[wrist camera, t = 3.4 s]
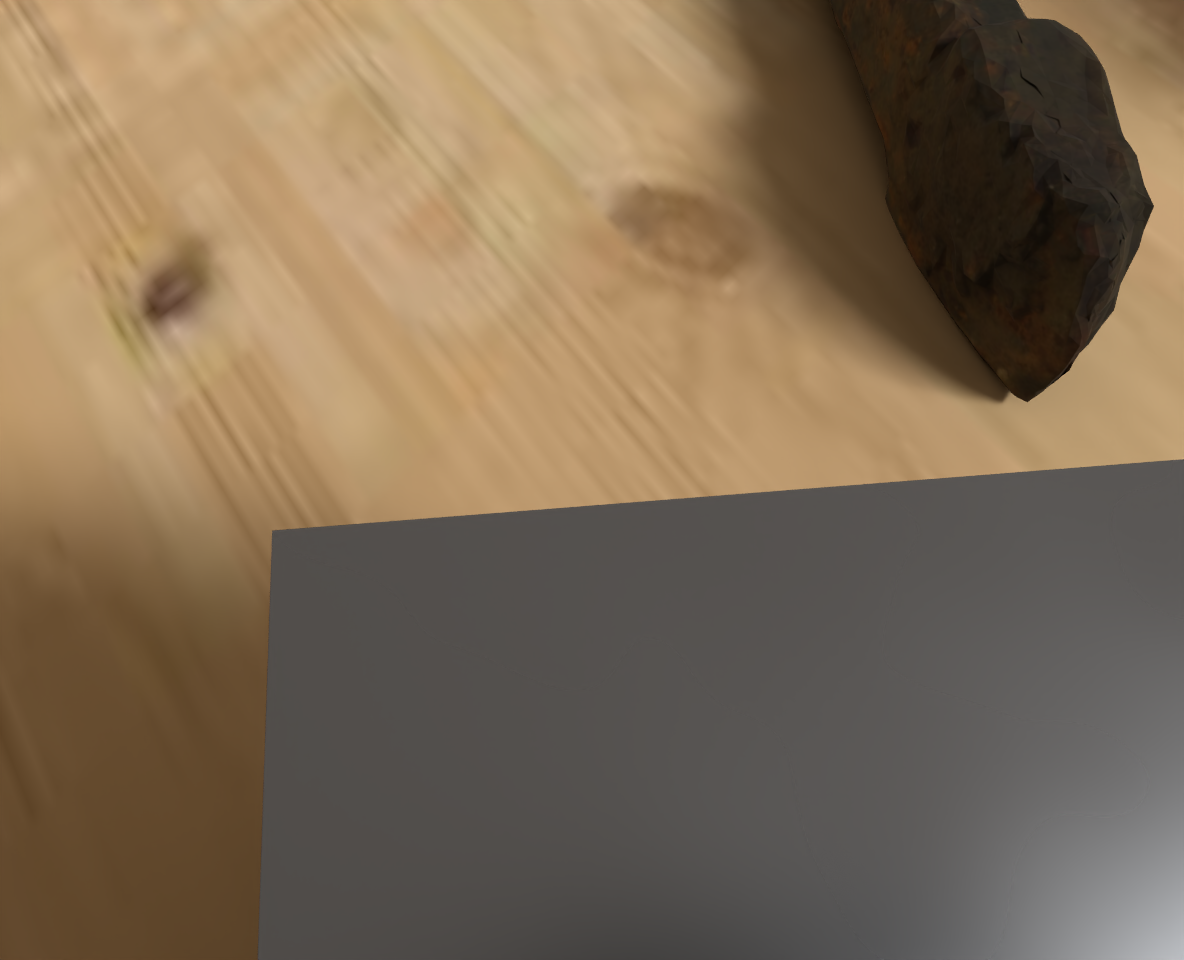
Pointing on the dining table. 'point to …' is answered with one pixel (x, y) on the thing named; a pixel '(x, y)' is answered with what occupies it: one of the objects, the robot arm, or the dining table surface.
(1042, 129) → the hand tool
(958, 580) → the grey block
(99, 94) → the dining table surface
